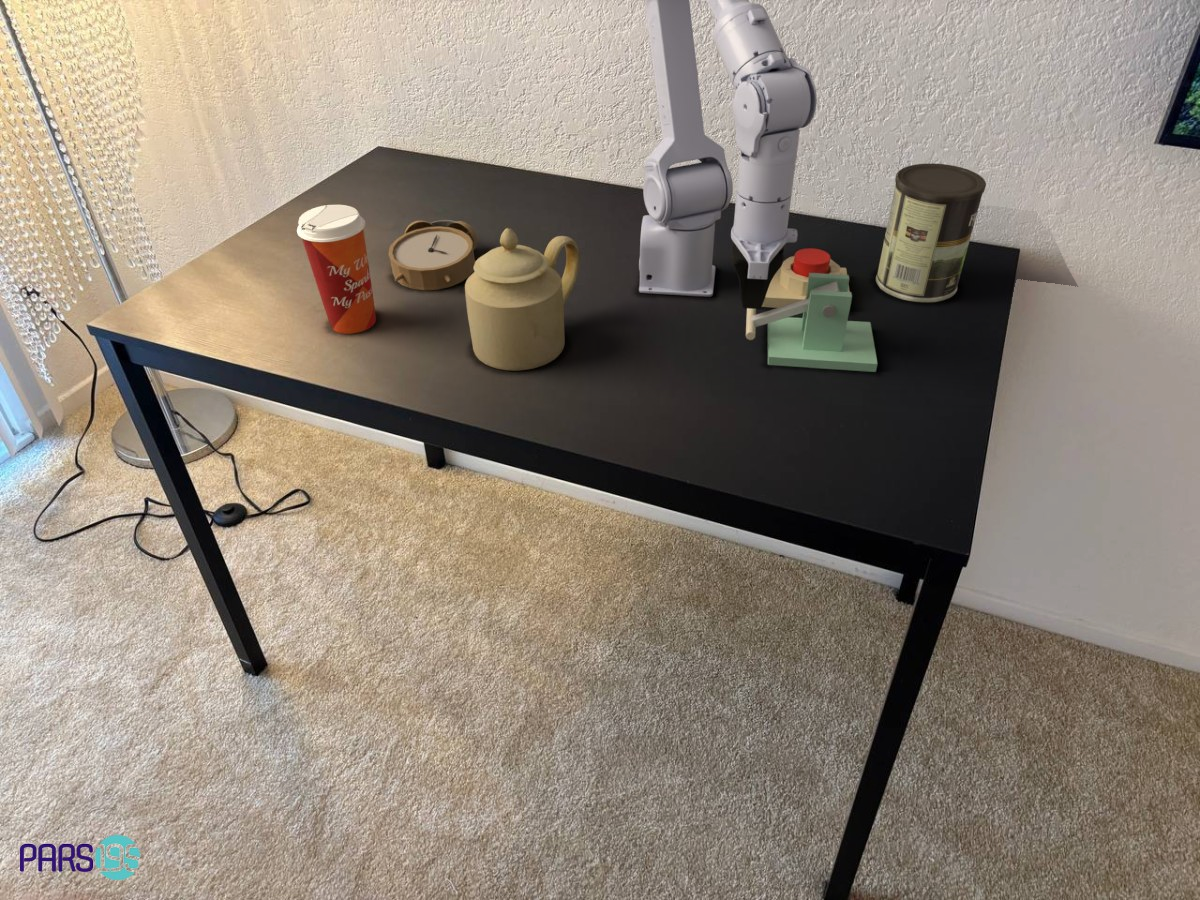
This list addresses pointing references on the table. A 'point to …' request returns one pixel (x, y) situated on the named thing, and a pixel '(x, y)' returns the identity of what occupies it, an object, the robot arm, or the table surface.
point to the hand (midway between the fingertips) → (751, 305)
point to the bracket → (823, 332)
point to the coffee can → (929, 231)
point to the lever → (780, 312)
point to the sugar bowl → (520, 303)
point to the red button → (811, 262)
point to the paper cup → (340, 265)
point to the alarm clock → (433, 254)
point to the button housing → (792, 284)
